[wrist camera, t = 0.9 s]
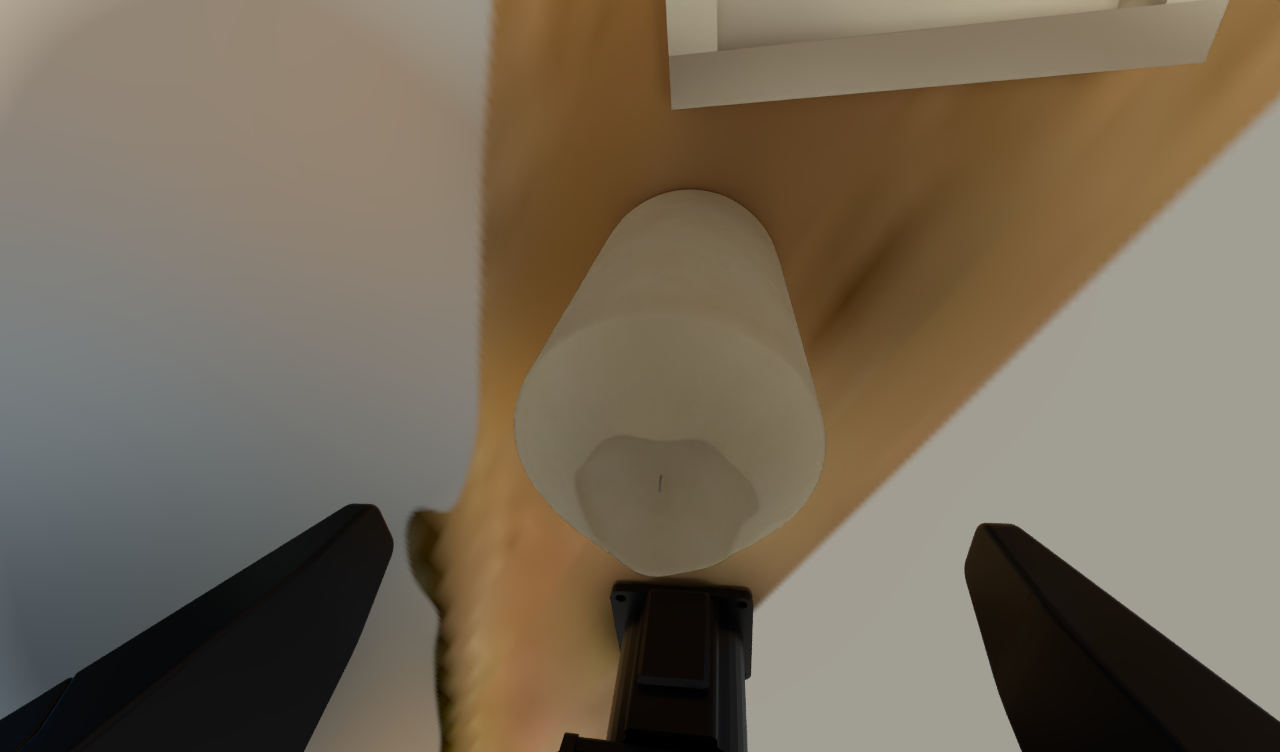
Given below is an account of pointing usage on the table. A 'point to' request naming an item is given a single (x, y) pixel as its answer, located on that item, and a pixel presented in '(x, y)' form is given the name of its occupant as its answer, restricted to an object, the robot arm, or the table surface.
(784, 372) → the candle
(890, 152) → the table surface
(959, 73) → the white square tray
